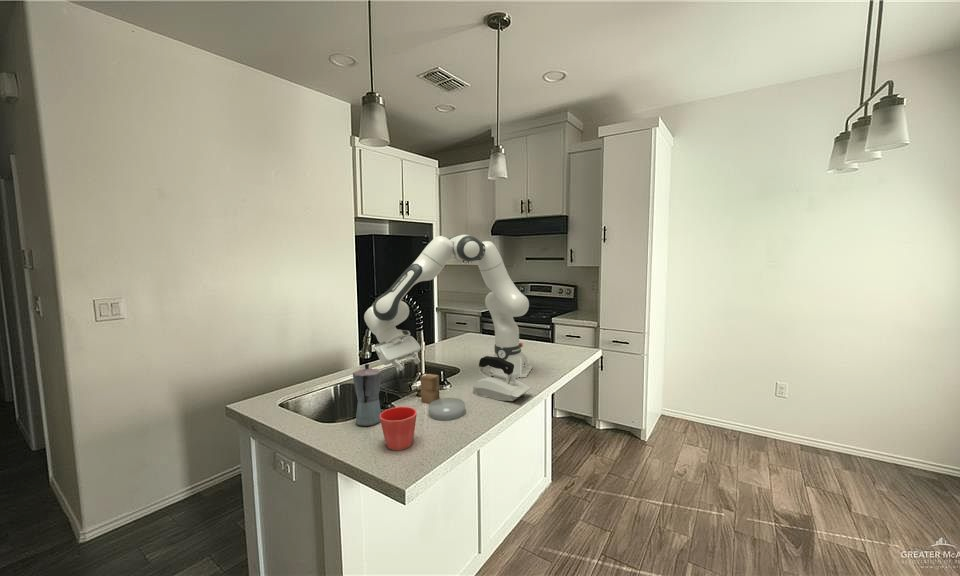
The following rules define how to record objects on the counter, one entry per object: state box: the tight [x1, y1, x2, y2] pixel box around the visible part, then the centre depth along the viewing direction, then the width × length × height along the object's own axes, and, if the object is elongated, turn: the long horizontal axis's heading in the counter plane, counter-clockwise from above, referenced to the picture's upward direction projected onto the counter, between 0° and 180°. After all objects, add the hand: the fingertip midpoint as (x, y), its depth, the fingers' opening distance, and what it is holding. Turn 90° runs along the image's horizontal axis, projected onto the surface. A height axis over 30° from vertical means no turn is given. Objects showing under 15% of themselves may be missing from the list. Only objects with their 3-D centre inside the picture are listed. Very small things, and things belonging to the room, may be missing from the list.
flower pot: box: [380, 406, 418, 451], centre depth 115 cm, size 11×11×10 cm
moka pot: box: [352, 363, 382, 427], centre depth 131 cm, size 10×15×20 cm, turn 14°
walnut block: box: [419, 373, 441, 405], centre depth 148 cm, size 5×5×10 cm
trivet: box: [428, 397, 466, 422], centre depth 137 cm, size 13×13×3 cm
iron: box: [472, 355, 533, 402], centre depth 152 cm, size 11×24×15 cm, turn 55°
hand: (410, 366), depth 152 cm, fingers open, 8 cm apart
